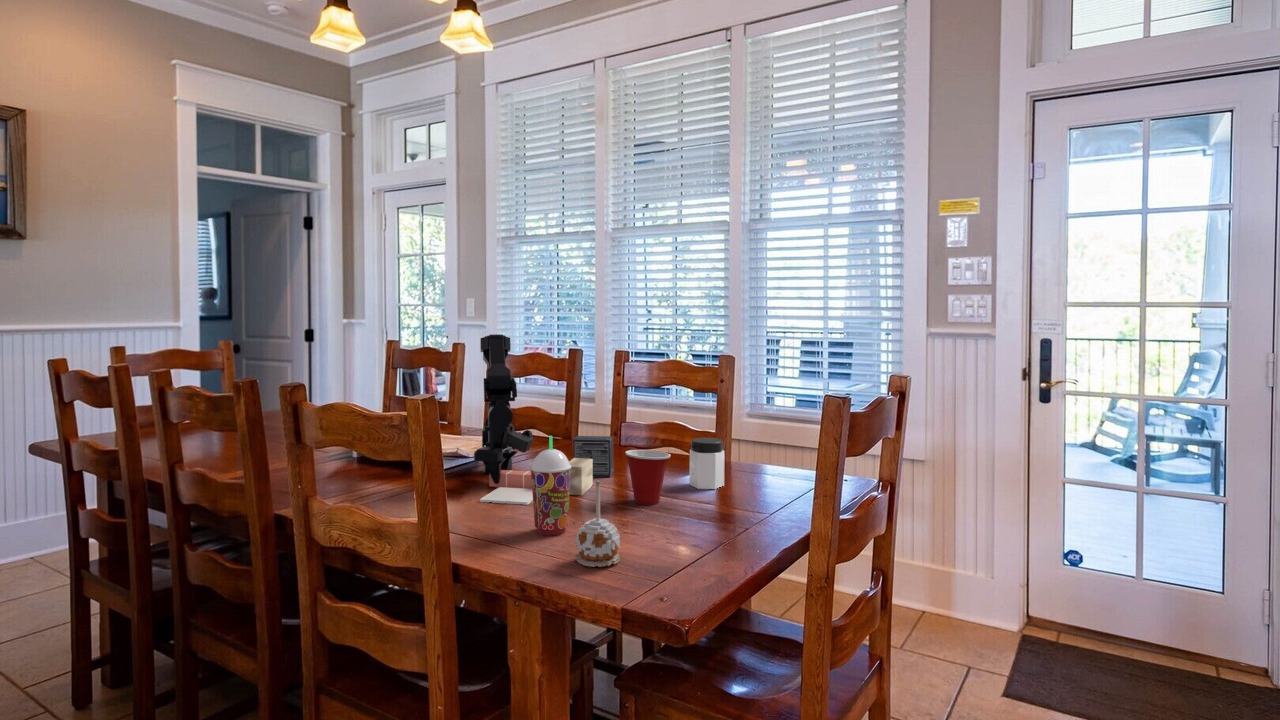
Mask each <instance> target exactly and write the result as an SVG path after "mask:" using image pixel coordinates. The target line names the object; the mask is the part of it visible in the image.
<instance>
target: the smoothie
mask: <svg viewBox="0 0 1280 720" xmlns="http://www.w3.org/2000/svg"><path fill="white" fill-rule="evenodd" d="M548 437H549V440H548V446H549V448H547V449H544V450H542V451H540V452H538V454H537V455H536V457H535V458H534V460H533V462H532V465H530V467H529V468H530V471H531V478H532V493H533V501H532V505H533V519H534V527H535V528H536V530H537V531H536V532H537V533H538V534H540V535H541V536H547V535H548V536H549V537H550V536H551V537H552V536H558V535H562V534H564V533H565V532H566V528H567V527H568V526H569V509H570V496H571V495H570V477H571V465H570V463H569V461H570V460H569V459H568V457H567V456H566V455H565V453H563V452H562V451H561V450H558V449H555V448H553V447H554V446H553V435H549V436H548Z"/></svg>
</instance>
